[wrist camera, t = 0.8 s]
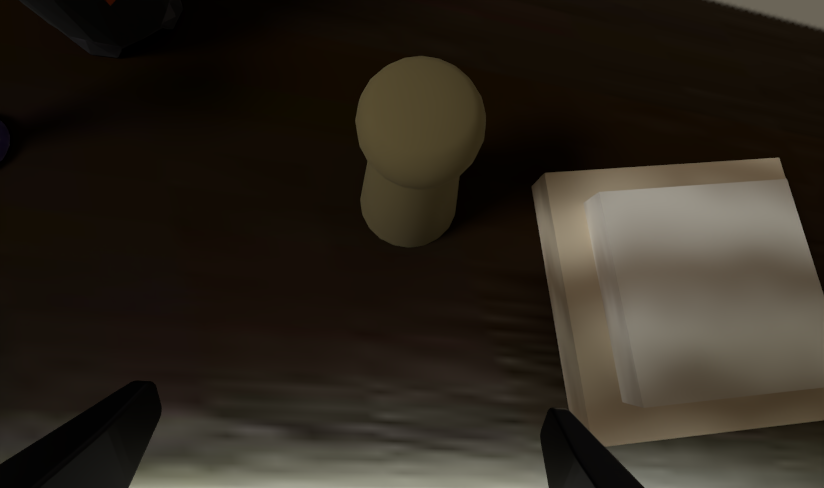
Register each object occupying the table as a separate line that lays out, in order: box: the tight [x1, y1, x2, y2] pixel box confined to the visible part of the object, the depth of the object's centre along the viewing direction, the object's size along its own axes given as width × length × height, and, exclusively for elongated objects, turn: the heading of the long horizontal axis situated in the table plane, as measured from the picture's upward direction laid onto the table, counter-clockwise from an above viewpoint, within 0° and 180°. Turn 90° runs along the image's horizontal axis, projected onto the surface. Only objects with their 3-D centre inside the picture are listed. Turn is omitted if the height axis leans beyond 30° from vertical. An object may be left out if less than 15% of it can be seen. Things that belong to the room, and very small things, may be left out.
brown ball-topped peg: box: [355, 56, 486, 248], centre depth 20 cm, size 6×6×11 cm
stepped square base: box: [532, 158, 824, 447], centre depth 23 cm, size 15×15×4 cm
